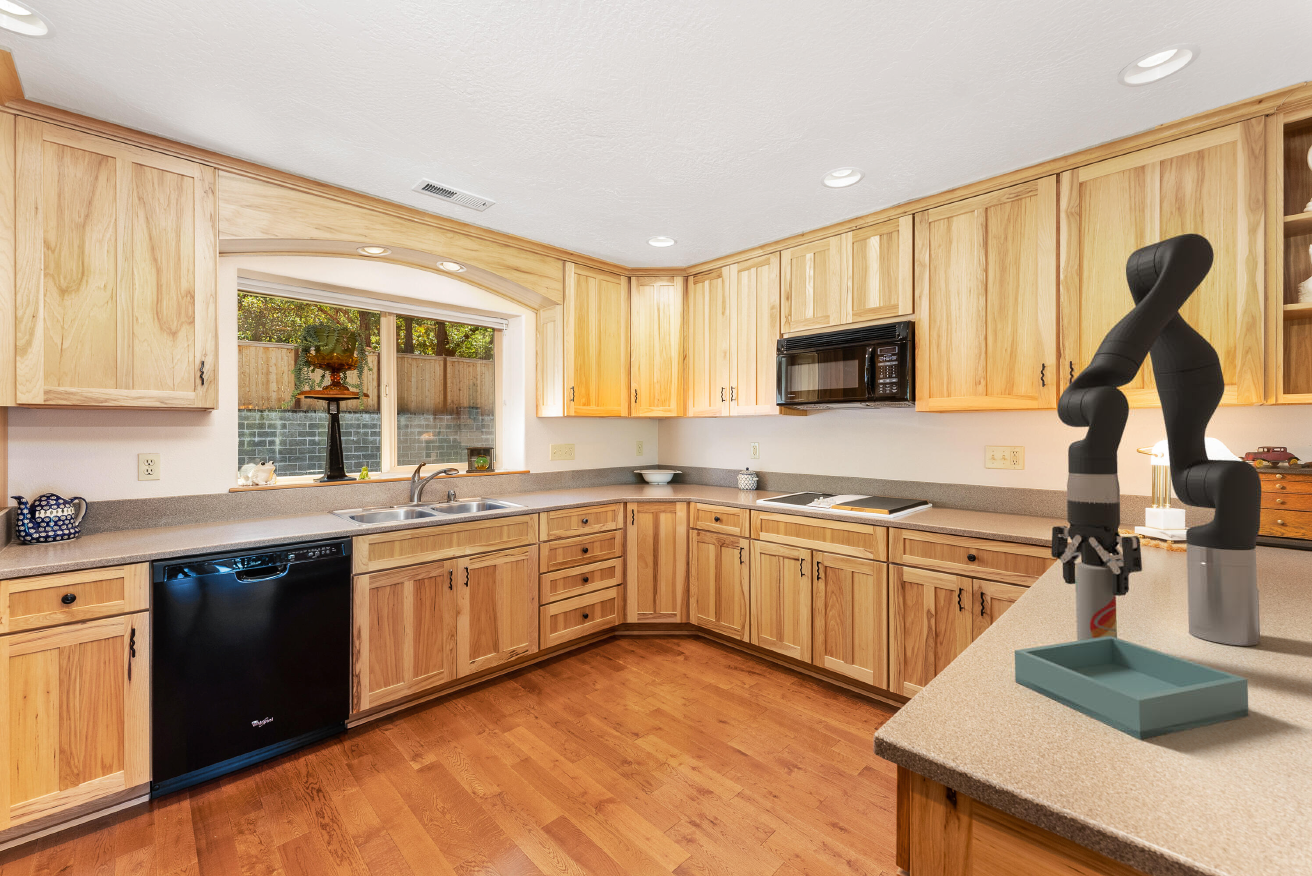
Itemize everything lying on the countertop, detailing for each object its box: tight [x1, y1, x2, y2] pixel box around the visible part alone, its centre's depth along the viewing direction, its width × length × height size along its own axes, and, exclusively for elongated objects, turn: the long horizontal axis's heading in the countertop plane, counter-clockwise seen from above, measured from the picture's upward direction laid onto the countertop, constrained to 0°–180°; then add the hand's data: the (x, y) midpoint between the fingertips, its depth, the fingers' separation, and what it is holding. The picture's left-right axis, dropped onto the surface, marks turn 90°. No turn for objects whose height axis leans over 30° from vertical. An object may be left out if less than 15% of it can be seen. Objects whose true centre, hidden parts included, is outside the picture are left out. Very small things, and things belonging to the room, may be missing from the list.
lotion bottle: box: [1074, 541, 1118, 641], centre depth 101 cm, size 6×6×20 cm
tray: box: [1014, 636, 1249, 741], centre depth 83 cm, size 20×18×5 cm
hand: (1094, 588), depth 101 cm, fingers open, 8 cm apart
